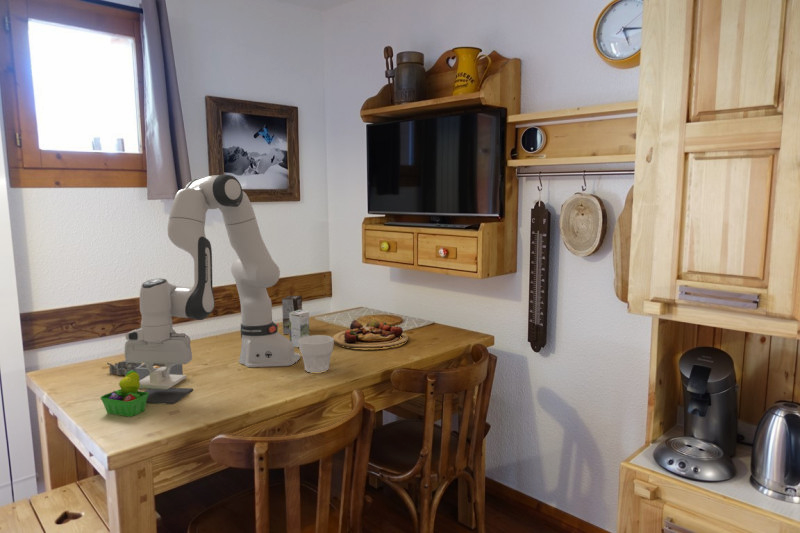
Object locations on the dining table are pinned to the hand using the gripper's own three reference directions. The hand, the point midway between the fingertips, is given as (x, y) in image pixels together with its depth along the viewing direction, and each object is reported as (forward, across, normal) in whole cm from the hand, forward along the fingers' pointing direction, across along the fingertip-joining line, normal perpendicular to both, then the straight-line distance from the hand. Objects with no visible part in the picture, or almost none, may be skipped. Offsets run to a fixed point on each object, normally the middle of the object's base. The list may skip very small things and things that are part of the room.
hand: (159, 376), depth 176 cm
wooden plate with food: (+6, -53, -72) cm, 90 cm away
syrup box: (+6, -26, -60) cm, 66 cm away
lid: (+2, 0, 0) cm, 2 cm away
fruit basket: (+7, +3, +12) cm, 14 cm away
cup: (+6, -41, -30) cm, 52 cm away
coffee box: (+6, -16, -83) cm, 85 cm away
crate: (+6, +8, -13) cm, 16 cm away
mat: (+6, 0, 0) cm, 6 cm away
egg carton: (+7, +26, -22) cm, 35 cm away
